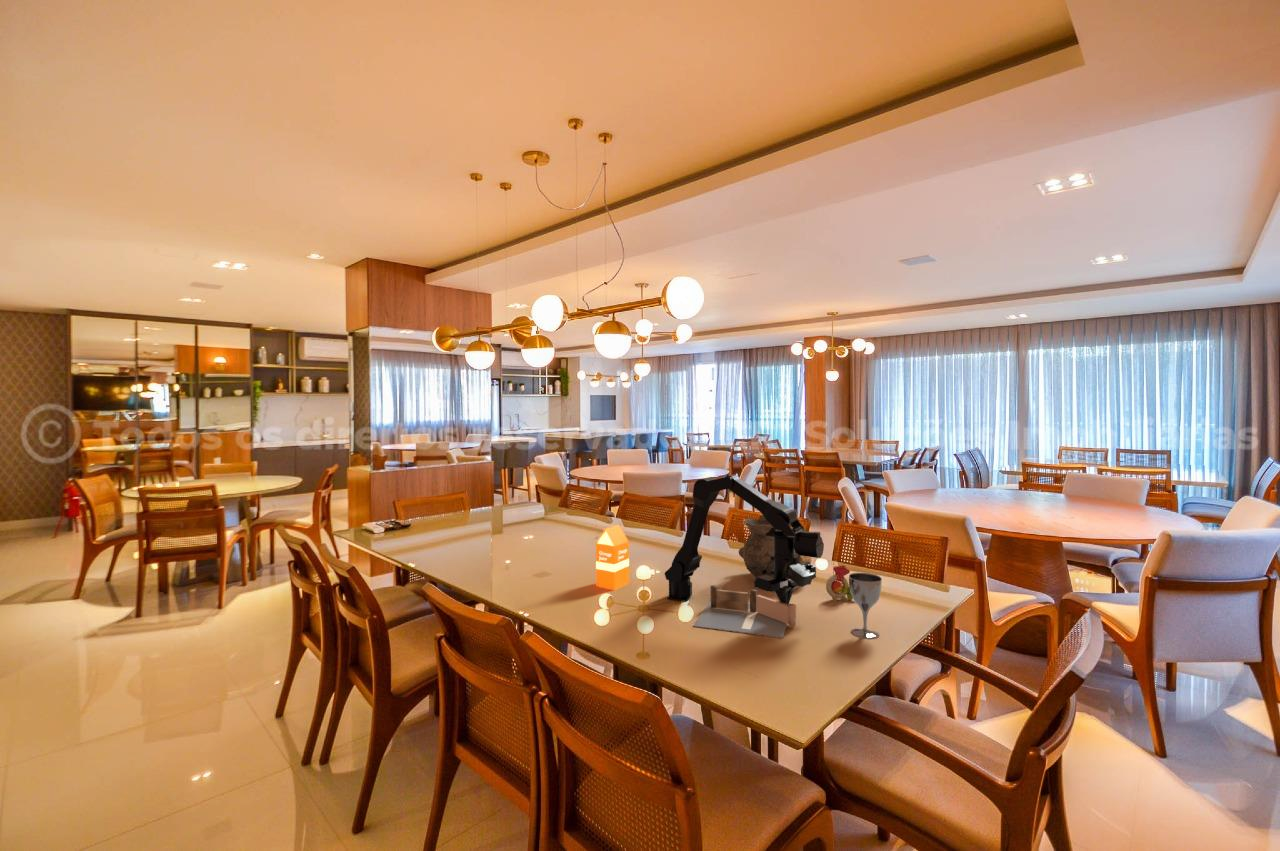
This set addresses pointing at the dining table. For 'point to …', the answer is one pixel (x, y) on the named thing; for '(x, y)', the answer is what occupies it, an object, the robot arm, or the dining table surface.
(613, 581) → the orange juice
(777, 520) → the robot arm
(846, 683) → the dining table surface
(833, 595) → the bird rattle
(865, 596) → the wine glass
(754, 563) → the clay pot
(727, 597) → the fixed fence
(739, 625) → the card
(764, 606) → the swing panel
